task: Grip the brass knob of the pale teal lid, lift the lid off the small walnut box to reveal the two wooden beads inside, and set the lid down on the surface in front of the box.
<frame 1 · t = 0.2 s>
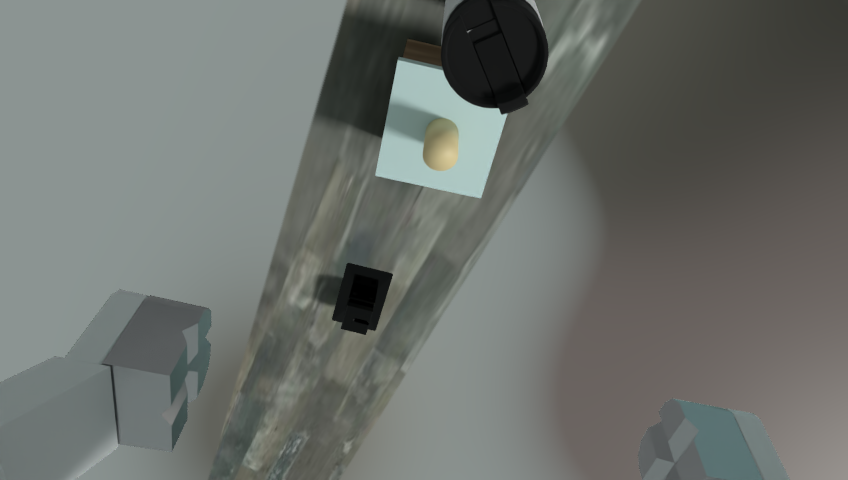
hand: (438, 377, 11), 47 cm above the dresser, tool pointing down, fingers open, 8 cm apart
black stepped block: (362, 293, 73), on the dresser
lid: (442, 129, 53), point 6 cm above the dresser, touching box
box: (444, 102, 58), on the dresser
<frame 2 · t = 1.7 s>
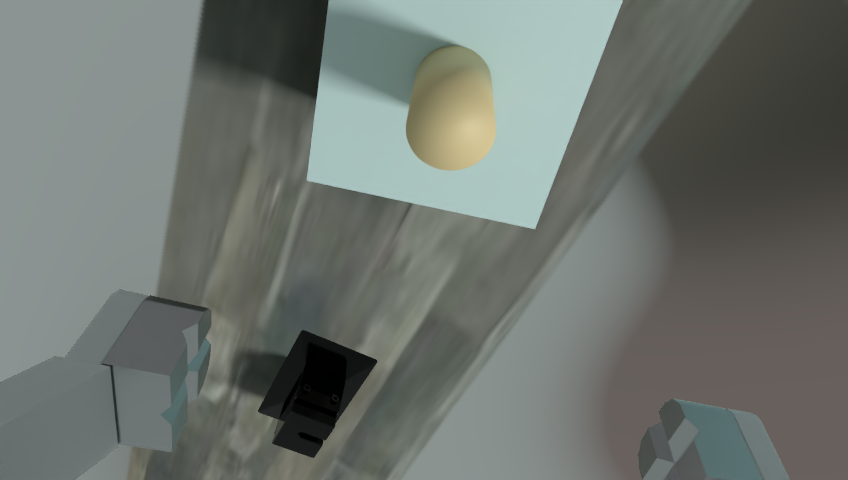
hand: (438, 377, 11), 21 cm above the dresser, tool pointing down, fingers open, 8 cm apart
black stepped block: (317, 378, 43), on the dresser
lid: (453, 76, 23), point 6 cm above the dresser, touching box
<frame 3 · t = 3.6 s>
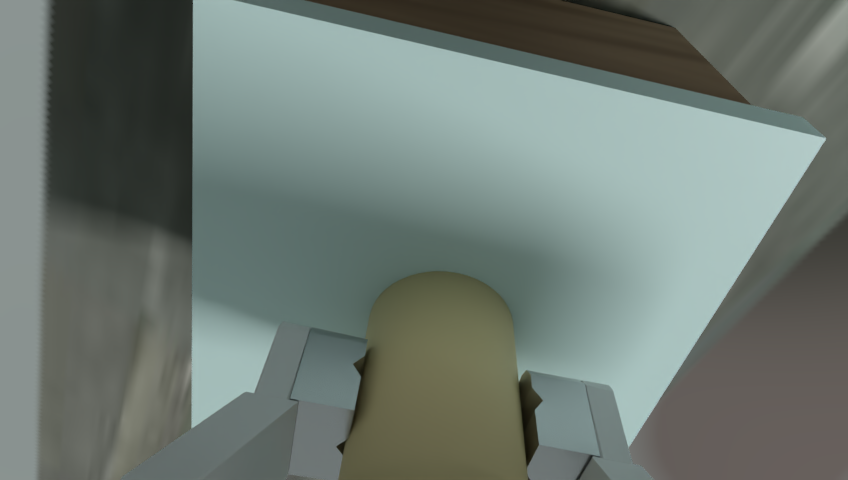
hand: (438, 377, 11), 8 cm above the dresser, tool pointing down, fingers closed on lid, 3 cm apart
lid: (441, 302, 13), point 6 cm above the dresser, touching box, gripper
box: (448, 166, 18), on the dresser
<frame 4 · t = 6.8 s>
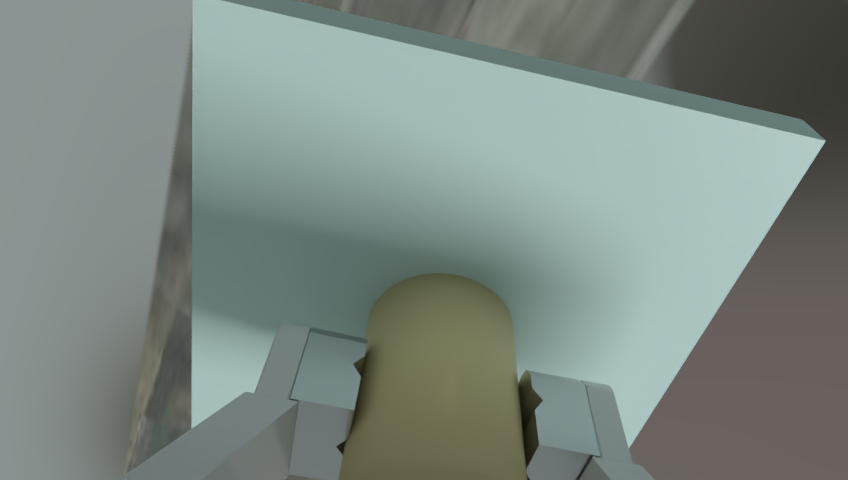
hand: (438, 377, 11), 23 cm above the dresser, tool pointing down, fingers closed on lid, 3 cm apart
lid: (441, 304, 13), point 21 cm above the dresser, touching gripper
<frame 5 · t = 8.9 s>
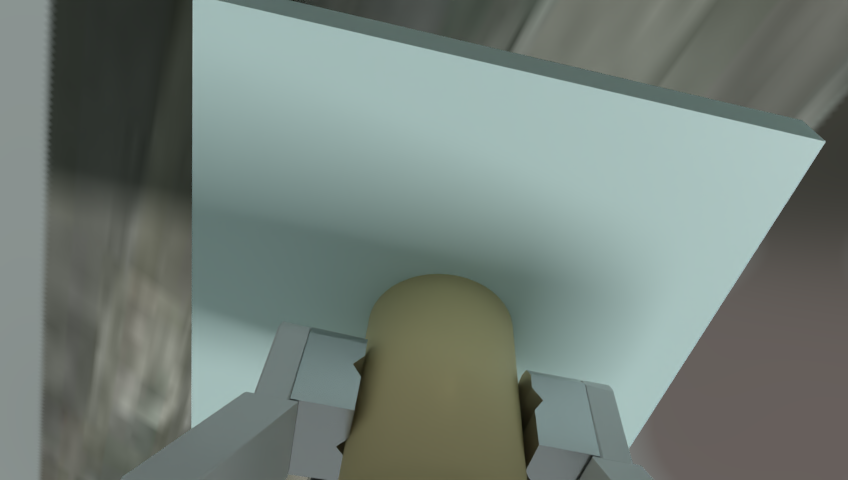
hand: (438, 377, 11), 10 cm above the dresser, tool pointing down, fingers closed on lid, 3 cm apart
lid: (441, 304, 13), point 8 cm above the dresser, touching gripper
when the fingers open (4 cm above the dresser, at t = 10.4 s): lid drops 1 cm, point 1 cm above the dresser.
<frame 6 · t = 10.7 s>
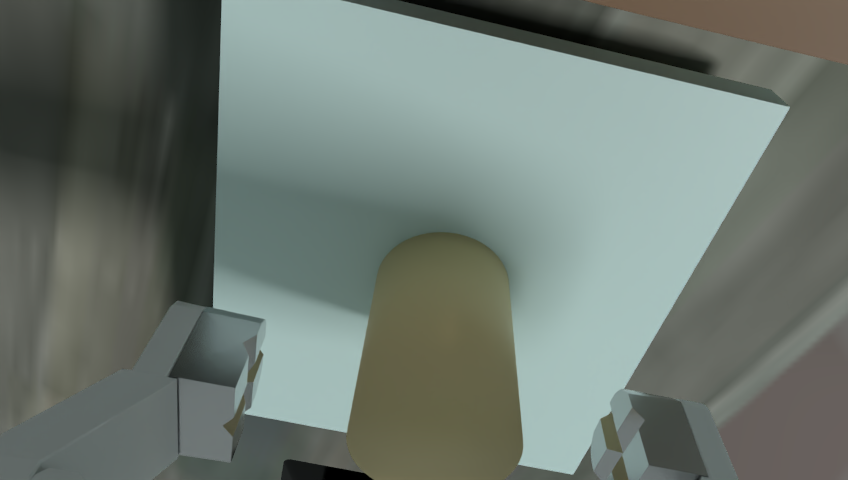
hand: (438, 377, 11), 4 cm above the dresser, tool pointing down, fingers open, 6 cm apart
lid: (443, 264, 14), point 1 cm above the dresser
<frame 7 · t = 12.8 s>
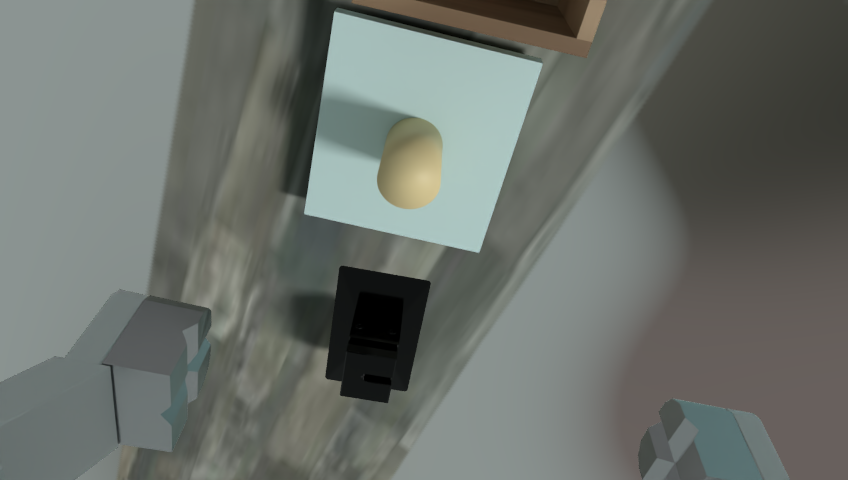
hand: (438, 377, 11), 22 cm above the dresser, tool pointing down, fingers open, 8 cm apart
black stepped block: (376, 324, 40), on the dresser
lid: (415, 138, 31), point 1 cm above the dresser
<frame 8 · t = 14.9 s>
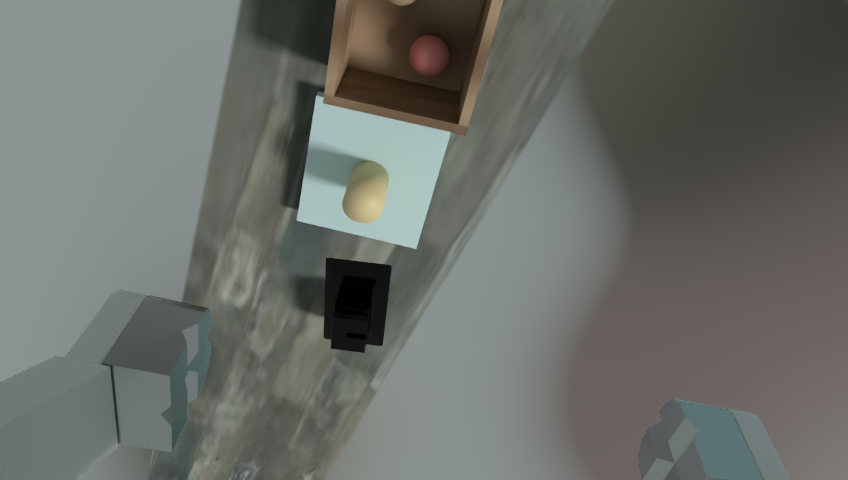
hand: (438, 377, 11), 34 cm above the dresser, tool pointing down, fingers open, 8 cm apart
bead red: (430, 49, 41), point 1 cm above the dresser, touching box
black stepped block: (356, 298, 56), on the dresser
lid: (371, 172, 47), point 1 cm above the dresser
box: (417, 12, 41), on the dresser
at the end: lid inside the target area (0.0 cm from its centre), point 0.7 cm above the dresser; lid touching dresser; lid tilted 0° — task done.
